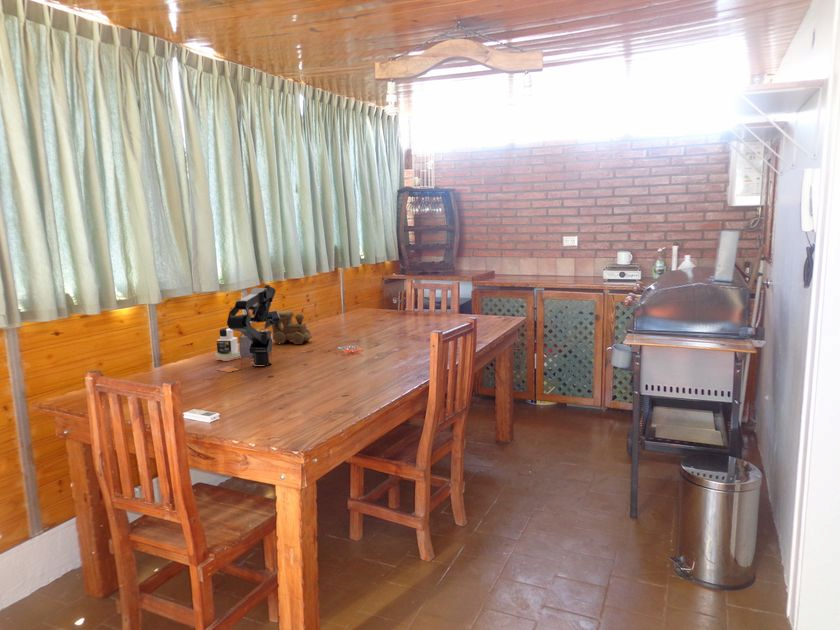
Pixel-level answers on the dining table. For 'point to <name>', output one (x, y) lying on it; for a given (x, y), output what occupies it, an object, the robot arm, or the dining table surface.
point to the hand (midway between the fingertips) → (255, 329)
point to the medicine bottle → (227, 342)
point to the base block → (228, 355)
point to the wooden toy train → (290, 329)
